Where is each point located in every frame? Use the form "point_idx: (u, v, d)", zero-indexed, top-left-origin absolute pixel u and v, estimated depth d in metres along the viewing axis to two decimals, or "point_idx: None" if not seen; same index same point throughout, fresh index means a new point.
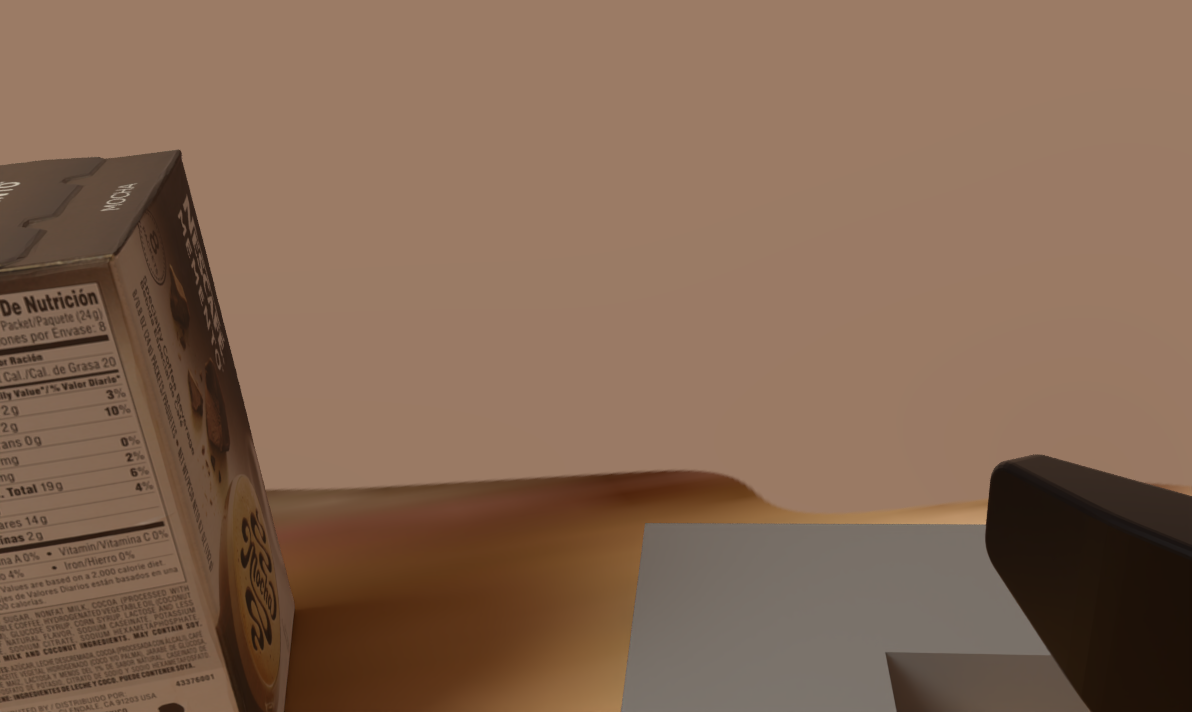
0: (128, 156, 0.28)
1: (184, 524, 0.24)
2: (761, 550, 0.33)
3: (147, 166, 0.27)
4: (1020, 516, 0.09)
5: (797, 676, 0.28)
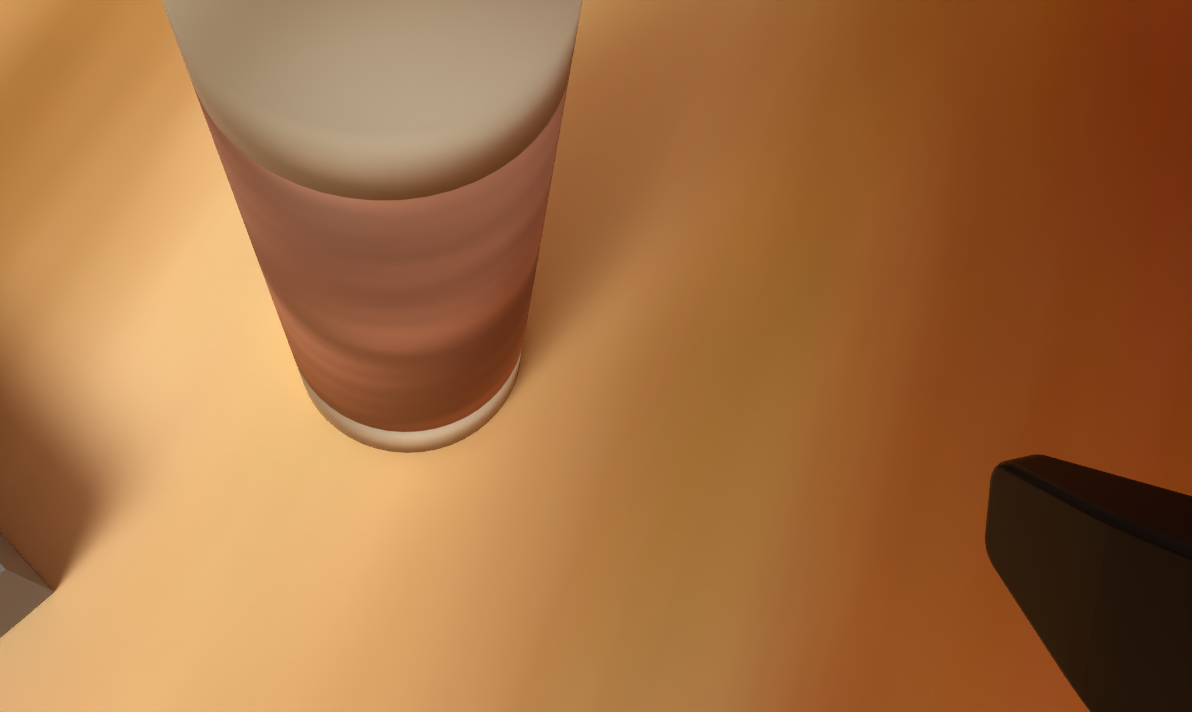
0: None
1: None
2: None
3: None
4: (1020, 517, 0.09)
5: None
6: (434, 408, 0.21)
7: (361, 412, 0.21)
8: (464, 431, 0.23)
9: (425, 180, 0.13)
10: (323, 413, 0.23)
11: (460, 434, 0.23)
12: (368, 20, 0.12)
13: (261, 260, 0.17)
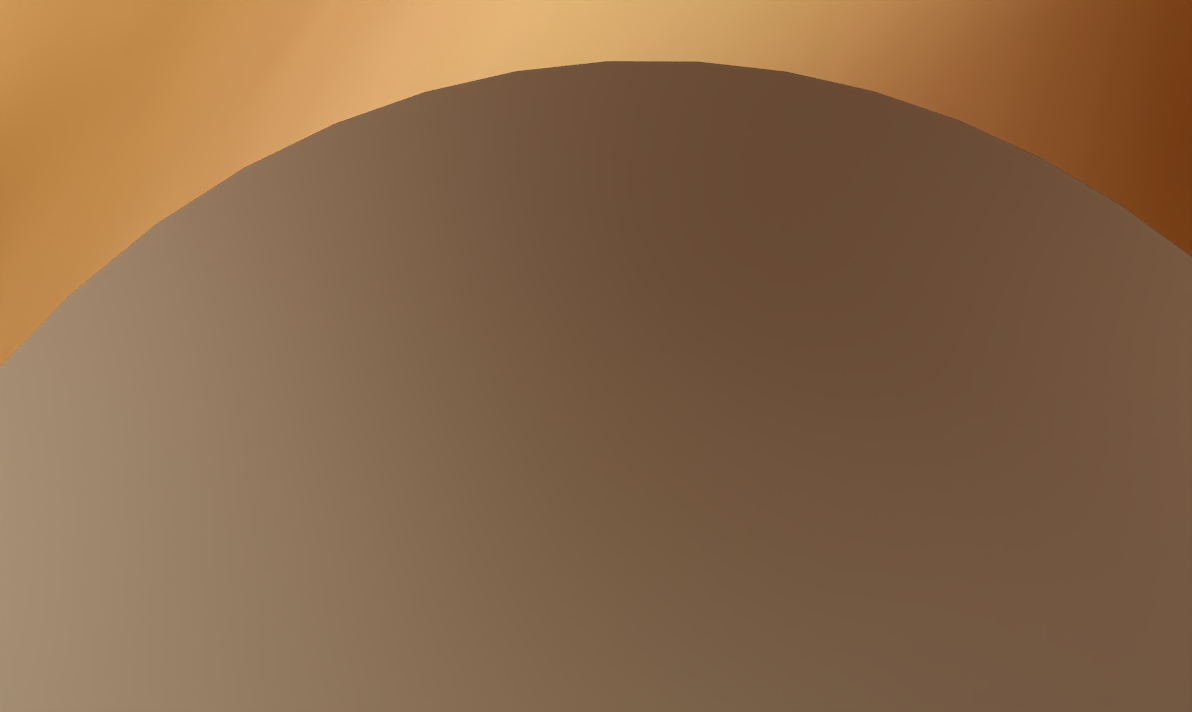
0: None
1: None
2: None
3: None
4: None
5: None
6: None
7: None
8: None
9: None
10: None
11: None
12: None
13: None
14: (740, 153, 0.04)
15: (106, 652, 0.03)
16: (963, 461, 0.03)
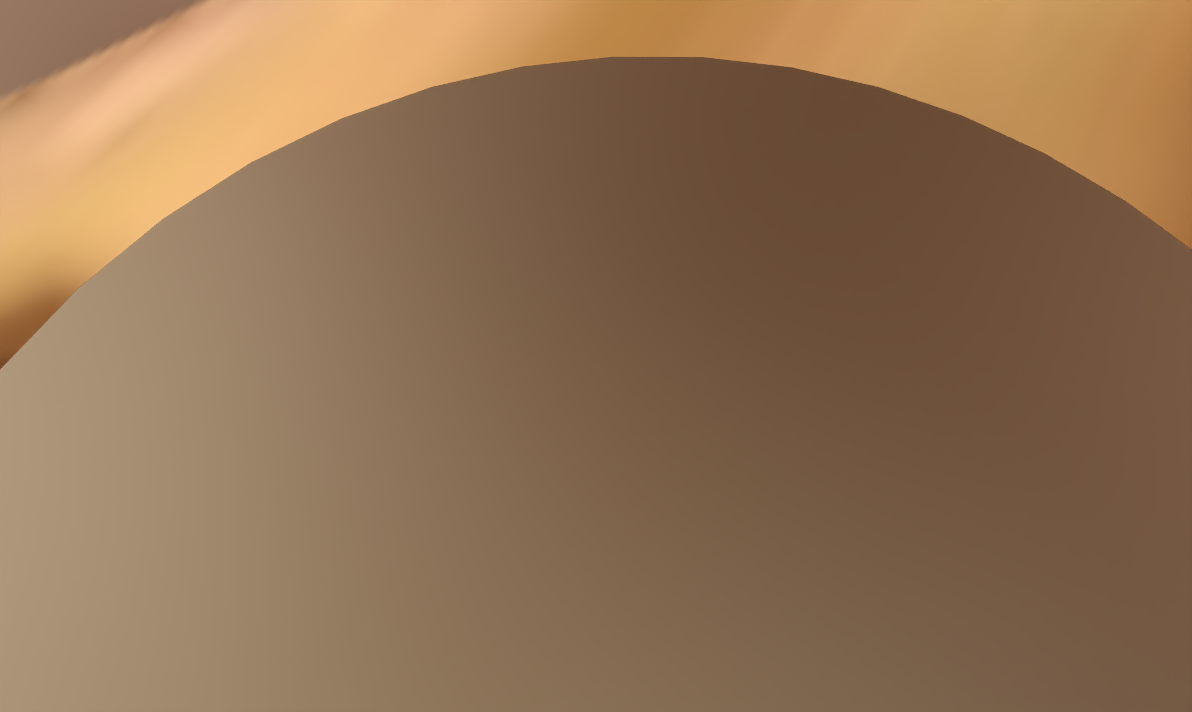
0: None
1: None
2: None
3: None
4: None
5: None
6: None
7: None
8: None
9: None
10: None
11: None
12: None
13: None
14: (746, 149, 0.04)
15: (116, 645, 0.03)
16: (968, 456, 0.03)
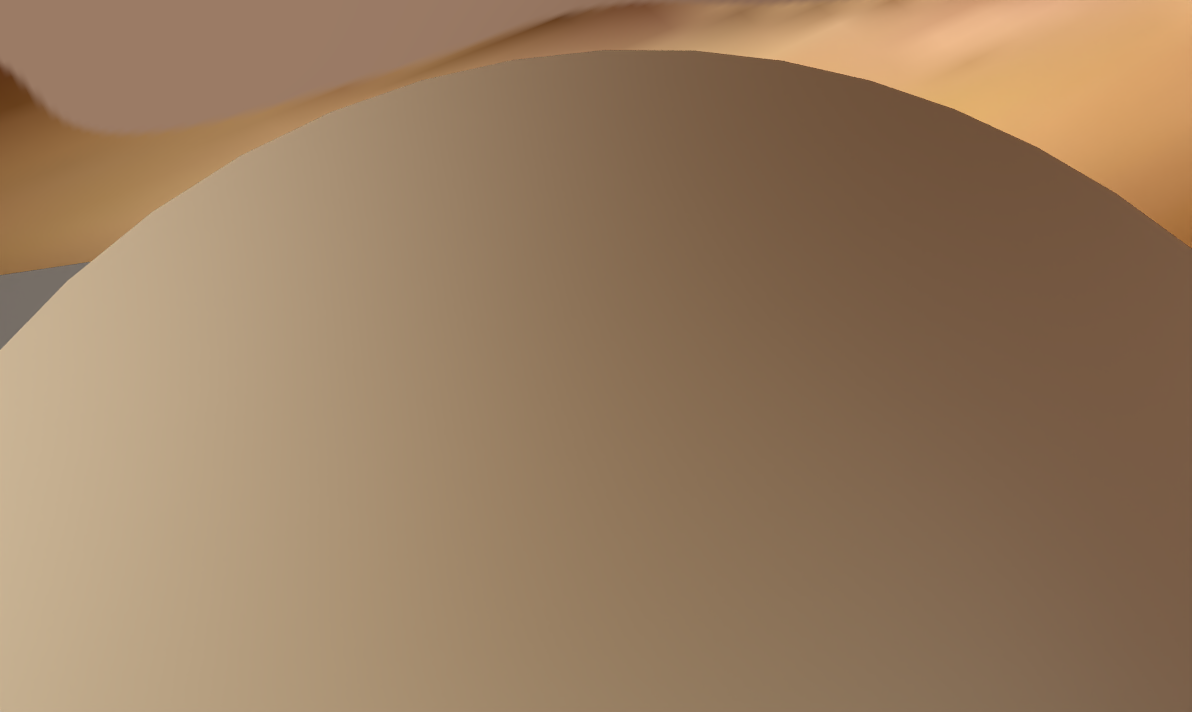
0: None
1: None
2: None
3: None
4: None
5: None
6: None
7: None
8: None
9: None
10: None
11: None
12: None
13: None
14: (736, 141, 0.04)
15: (102, 636, 0.03)
16: (959, 448, 0.03)
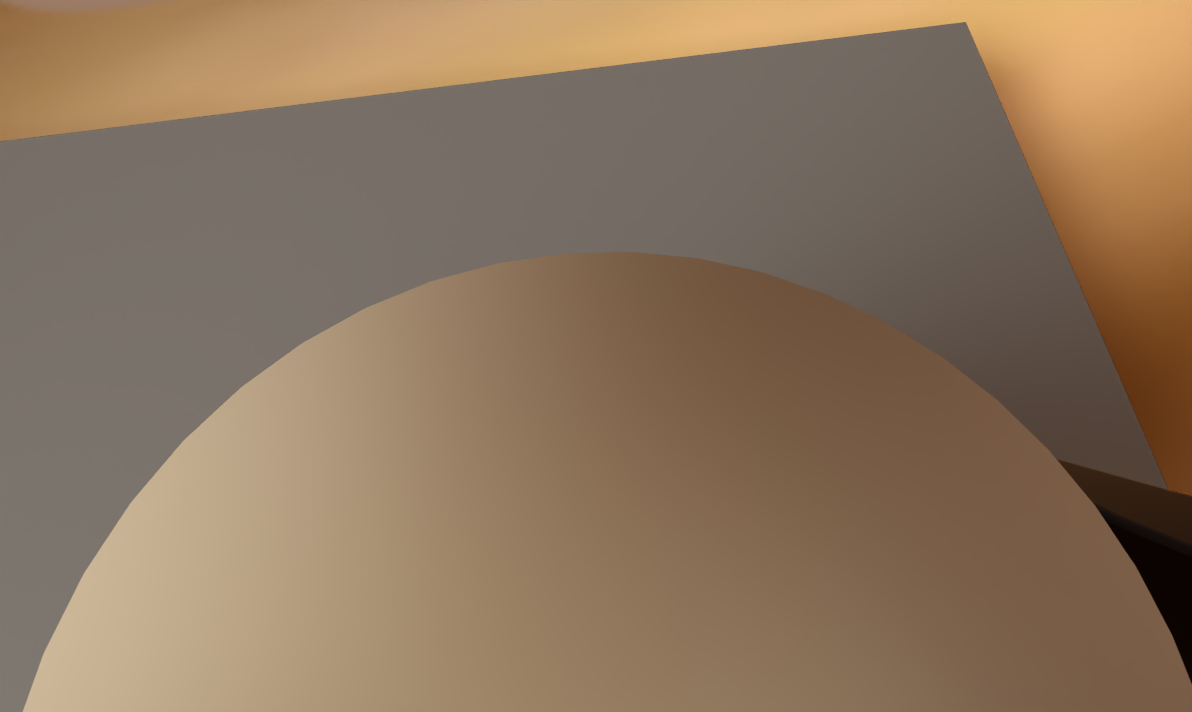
0: None
1: None
2: None
3: None
4: None
5: None
6: None
7: None
8: None
9: None
10: None
11: None
12: None
13: None
14: (660, 323, 0.05)
15: (217, 694, 0.04)
16: (812, 554, 0.05)
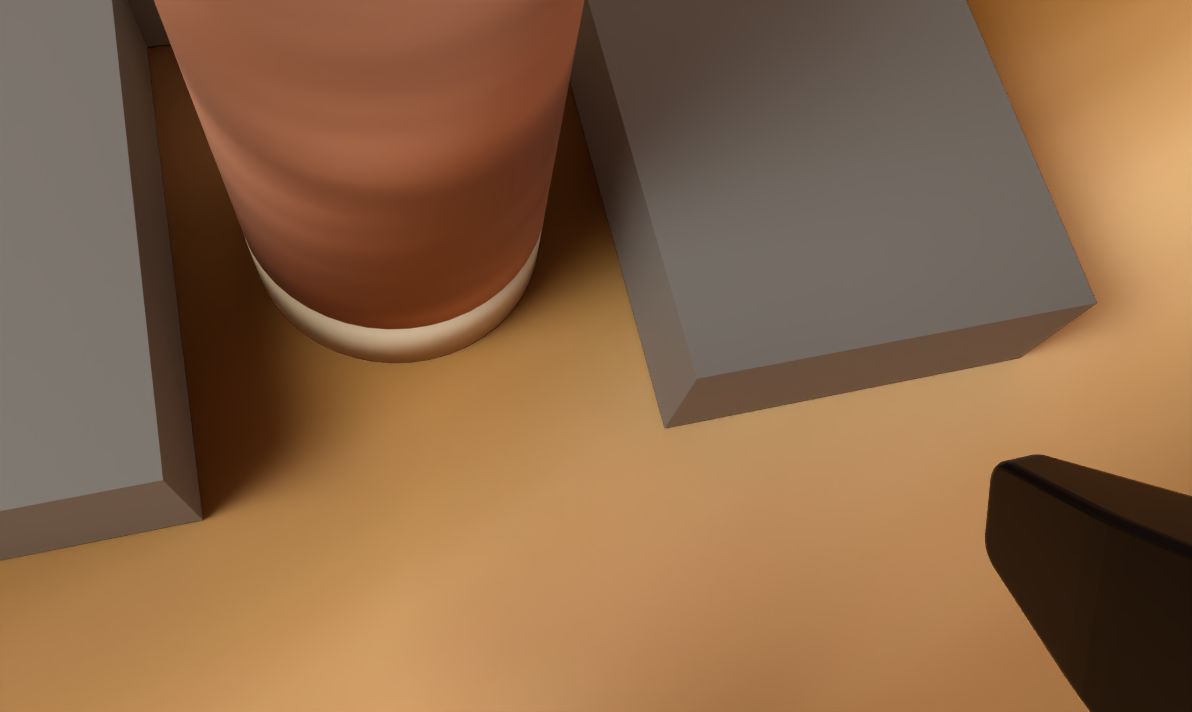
0: None
1: None
2: None
3: None
4: (1020, 516, 0.09)
5: None
6: (427, 292, 0.15)
7: (329, 298, 0.16)
8: (468, 335, 0.18)
9: None
10: (283, 310, 0.17)
11: (462, 339, 0.18)
12: None
13: (172, 39, 0.11)
14: None
15: None
16: None
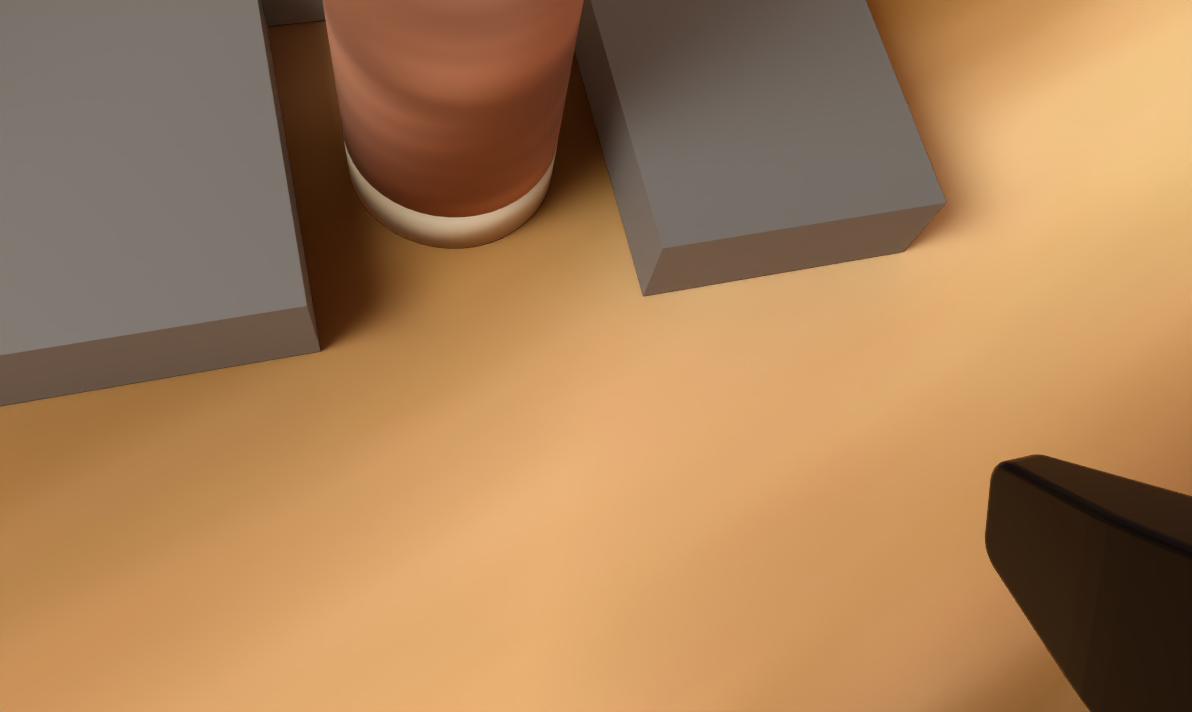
0: None
1: None
2: None
3: None
4: (1020, 516, 0.09)
5: (145, 1, 0.23)
6: (479, 186, 0.22)
7: (411, 192, 0.23)
8: (502, 227, 0.25)
9: None
10: (372, 209, 0.25)
11: (498, 230, 0.25)
12: None
13: (334, 6, 0.19)
14: None
15: None
16: None
